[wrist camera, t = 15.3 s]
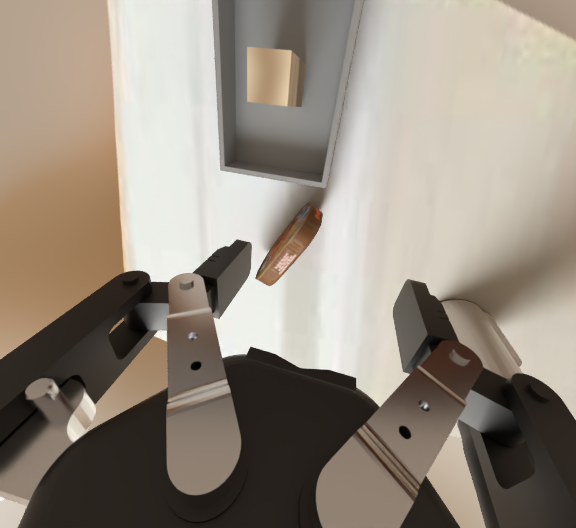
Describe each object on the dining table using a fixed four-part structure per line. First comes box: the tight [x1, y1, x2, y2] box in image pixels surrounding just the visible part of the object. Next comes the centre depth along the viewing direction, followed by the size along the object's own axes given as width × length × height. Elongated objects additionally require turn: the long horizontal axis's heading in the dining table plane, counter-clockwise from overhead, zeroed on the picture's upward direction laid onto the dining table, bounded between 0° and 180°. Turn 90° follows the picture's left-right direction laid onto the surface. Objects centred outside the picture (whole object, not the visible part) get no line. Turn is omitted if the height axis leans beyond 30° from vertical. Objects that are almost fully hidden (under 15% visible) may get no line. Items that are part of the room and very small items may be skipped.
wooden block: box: [247, 47, 306, 107], centre depth 25 cm, size 4×4×8 cm
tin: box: [256, 203, 323, 286], centre depth 37 cm, size 15×3×8 cm, turn 145°
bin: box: [212, 0, 364, 188], centre depth 27 cm, size 14×20×5 cm
